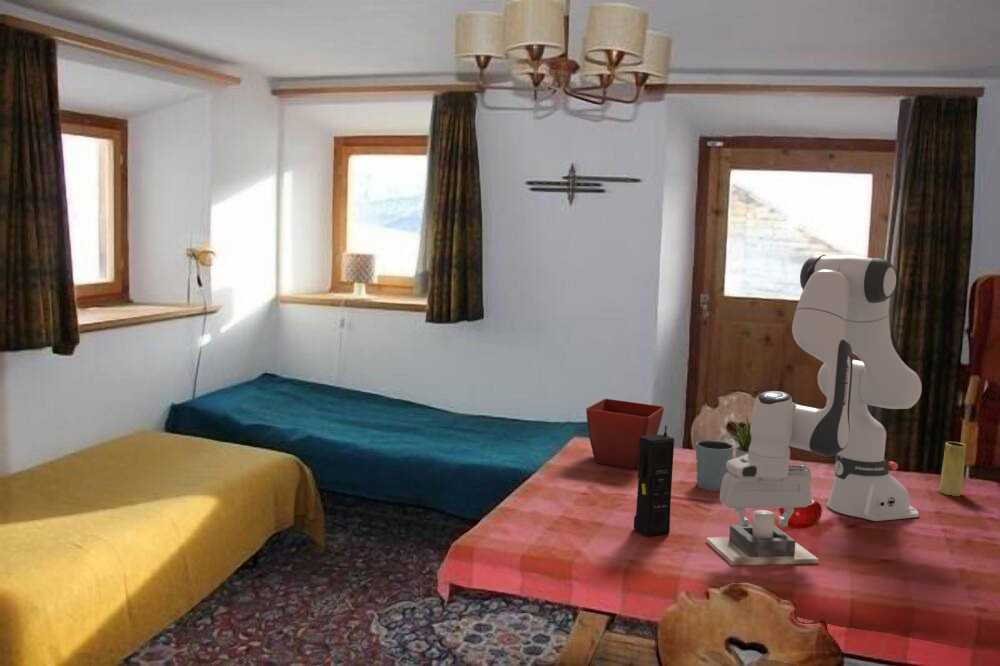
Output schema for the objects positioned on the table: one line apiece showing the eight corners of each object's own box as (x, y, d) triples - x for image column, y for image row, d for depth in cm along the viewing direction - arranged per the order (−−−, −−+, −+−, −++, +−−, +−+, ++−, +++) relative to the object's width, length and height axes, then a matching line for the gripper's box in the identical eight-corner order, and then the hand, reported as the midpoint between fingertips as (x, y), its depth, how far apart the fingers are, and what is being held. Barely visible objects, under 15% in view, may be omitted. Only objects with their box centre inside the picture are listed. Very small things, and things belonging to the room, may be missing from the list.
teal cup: (738, 489, 252) (741, 446, 250) (712, 493, 246) (716, 450, 244) (710, 479, 260) (713, 438, 258) (685, 483, 254) (688, 442, 253)
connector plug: (766, 544, 206) (769, 509, 205) (775, 551, 202) (778, 516, 201) (747, 544, 205) (750, 510, 204) (756, 551, 201) (759, 516, 200)
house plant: (778, 478, 264) (783, 423, 262) (731, 476, 264) (735, 421, 262) (765, 465, 278) (770, 412, 276) (720, 463, 278) (724, 410, 276)
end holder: (787, 540, 212) (788, 521, 212) (817, 563, 198) (819, 543, 198) (706, 541, 209) (707, 522, 208) (731, 565, 195) (733, 545, 194)
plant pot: (661, 459, 279) (665, 405, 277) (644, 474, 262) (648, 417, 260) (601, 450, 287) (604, 398, 285) (581, 464, 269) (584, 408, 267)
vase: (939, 494, 255) (944, 444, 254) (937, 488, 261) (943, 440, 259) (963, 497, 253) (969, 447, 251) (961, 492, 259) (967, 443, 257)
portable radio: (644, 538, 209) (651, 431, 206) (628, 529, 214) (635, 425, 211) (671, 534, 213) (679, 429, 210) (655, 525, 218) (662, 423, 215)
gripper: (804, 461, 206) (799, 520, 208) (719, 461, 202) (714, 521, 204) (818, 469, 200) (813, 530, 202) (731, 469, 196) (726, 531, 198)
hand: (762, 525), depth 203 cm, fingers open, 8 cm apart
